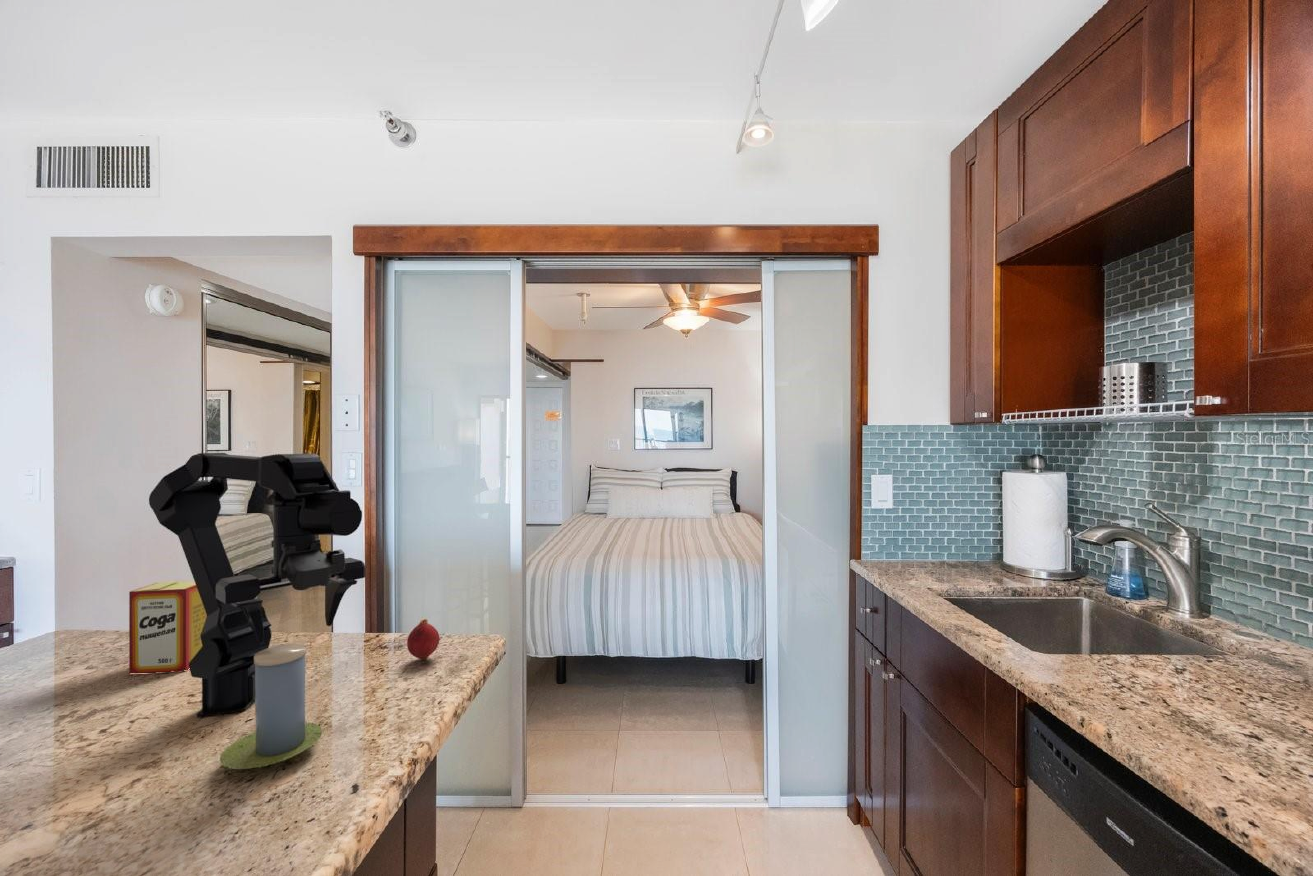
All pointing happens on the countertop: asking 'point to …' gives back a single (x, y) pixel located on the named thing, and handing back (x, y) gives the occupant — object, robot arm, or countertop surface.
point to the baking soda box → (164, 626)
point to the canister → (280, 698)
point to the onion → (423, 640)
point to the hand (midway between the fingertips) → (296, 633)
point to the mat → (246, 757)
